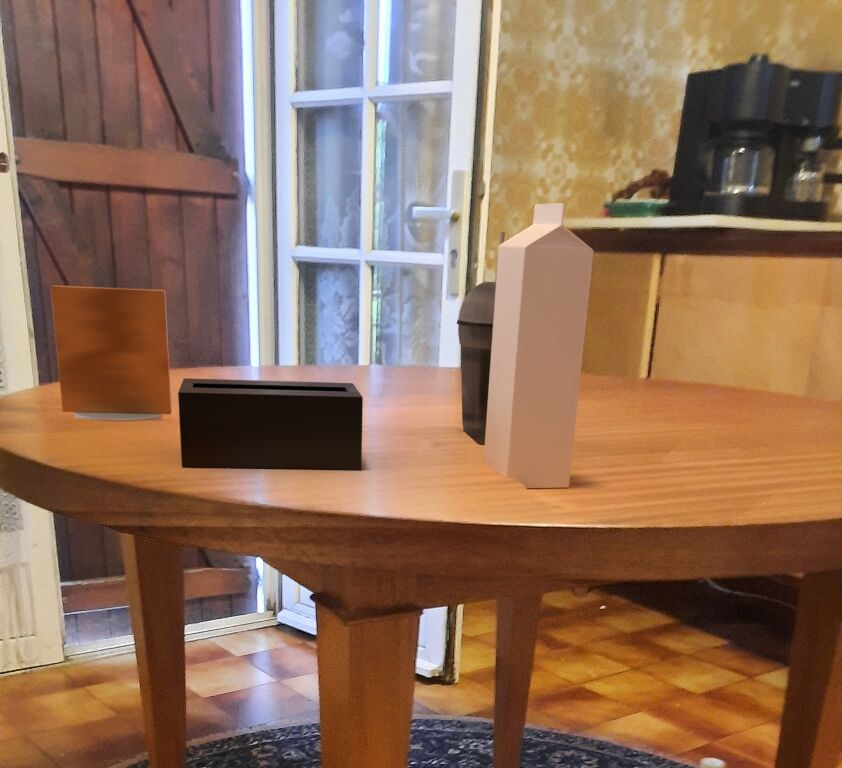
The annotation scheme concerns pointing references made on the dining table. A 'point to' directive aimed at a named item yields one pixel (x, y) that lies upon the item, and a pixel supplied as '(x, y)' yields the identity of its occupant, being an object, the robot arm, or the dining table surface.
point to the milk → (537, 351)
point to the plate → (117, 416)
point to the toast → (112, 349)
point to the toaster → (270, 425)
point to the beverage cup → (476, 355)
